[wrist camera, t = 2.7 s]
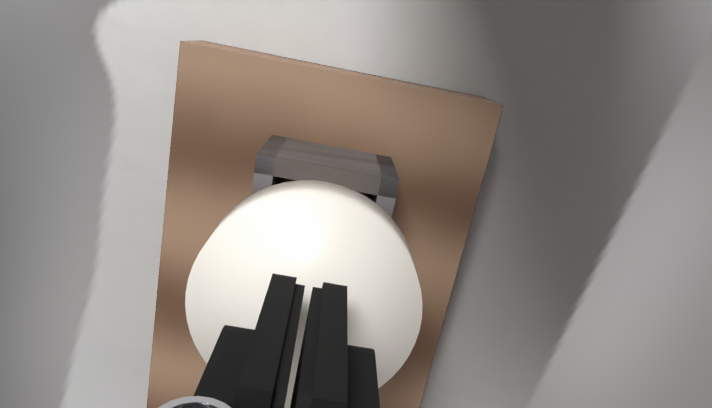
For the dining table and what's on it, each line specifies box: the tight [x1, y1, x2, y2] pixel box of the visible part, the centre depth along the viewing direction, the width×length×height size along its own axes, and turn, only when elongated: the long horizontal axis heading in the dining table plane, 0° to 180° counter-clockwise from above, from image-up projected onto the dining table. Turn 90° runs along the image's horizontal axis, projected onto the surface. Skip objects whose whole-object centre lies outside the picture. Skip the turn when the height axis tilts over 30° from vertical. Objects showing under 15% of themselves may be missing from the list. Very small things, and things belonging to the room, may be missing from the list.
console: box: [147, 41, 503, 408], centre depth 22 cm, size 20×12×6 cm, turn 169°
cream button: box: [185, 180, 423, 408], centre depth 15 cm, size 6×6×5 cm
